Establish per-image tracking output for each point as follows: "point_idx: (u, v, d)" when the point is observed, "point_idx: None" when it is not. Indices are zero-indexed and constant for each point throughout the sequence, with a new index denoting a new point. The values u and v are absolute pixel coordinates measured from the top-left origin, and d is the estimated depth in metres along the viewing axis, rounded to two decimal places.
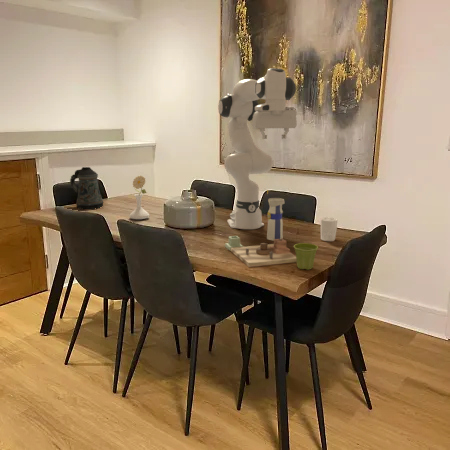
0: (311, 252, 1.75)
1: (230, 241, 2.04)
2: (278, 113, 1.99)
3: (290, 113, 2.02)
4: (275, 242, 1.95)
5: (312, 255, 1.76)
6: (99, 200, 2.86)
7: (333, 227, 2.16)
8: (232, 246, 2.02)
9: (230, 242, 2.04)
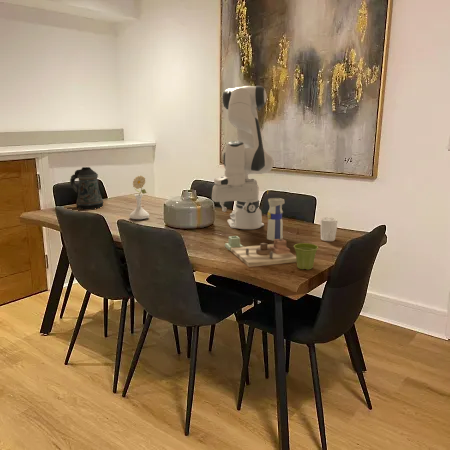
0: (311, 252, 1.75)
1: (230, 241, 2.04)
2: (237, 186, 1.96)
3: (250, 185, 1.99)
4: (275, 242, 1.95)
5: (312, 255, 1.76)
6: (99, 200, 2.86)
7: (333, 227, 2.16)
8: (232, 246, 2.02)
9: (230, 242, 2.04)
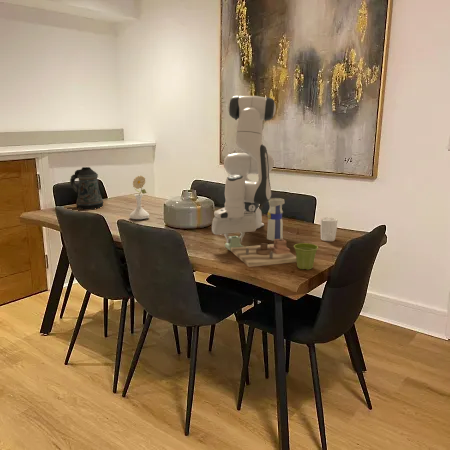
0: (311, 252, 1.75)
1: None
2: (237, 219, 2.00)
3: (249, 218, 2.03)
4: (275, 242, 1.95)
5: (312, 255, 1.76)
6: (99, 200, 2.86)
7: (333, 227, 2.16)
8: (232, 246, 2.02)
9: None
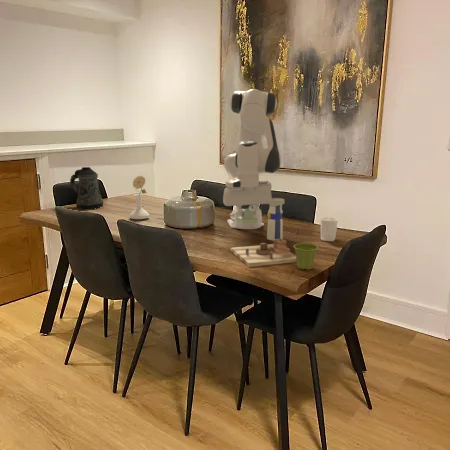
0: (311, 252, 1.75)
1: None
2: (251, 189, 1.83)
3: (264, 188, 1.86)
4: (275, 242, 1.95)
5: (312, 255, 1.76)
6: (99, 200, 2.86)
7: (333, 227, 2.16)
8: (245, 219, 1.85)
9: None
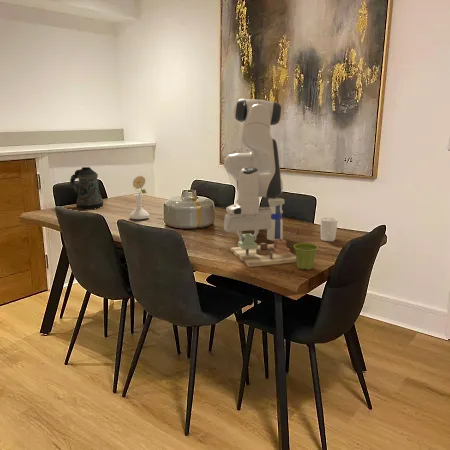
0: (311, 252, 1.75)
1: None
2: (251, 216, 1.85)
3: (264, 214, 1.88)
4: (275, 242, 1.95)
5: (312, 255, 1.76)
6: (99, 200, 2.86)
7: (333, 227, 2.16)
8: (246, 245, 1.87)
9: None
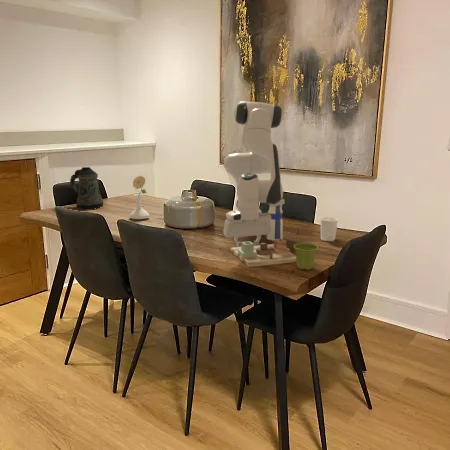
0: (311, 252, 1.75)
1: (243, 247, 1.90)
2: (251, 221, 1.85)
3: (264, 220, 1.89)
4: (275, 242, 1.95)
5: (312, 255, 1.76)
6: (99, 200, 2.86)
7: (333, 227, 2.16)
8: (245, 253, 1.88)
9: (243, 248, 1.90)
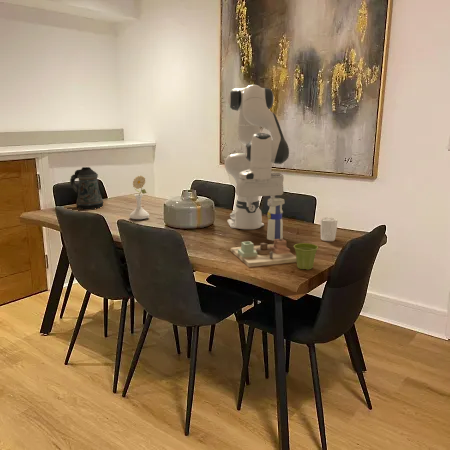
0: (311, 252, 1.75)
1: (243, 247, 1.90)
2: (263, 181, 1.87)
3: (276, 180, 1.90)
4: (275, 242, 1.95)
5: (312, 255, 1.76)
6: (99, 200, 2.86)
7: (333, 227, 2.16)
8: (245, 253, 1.88)
9: (243, 248, 1.90)
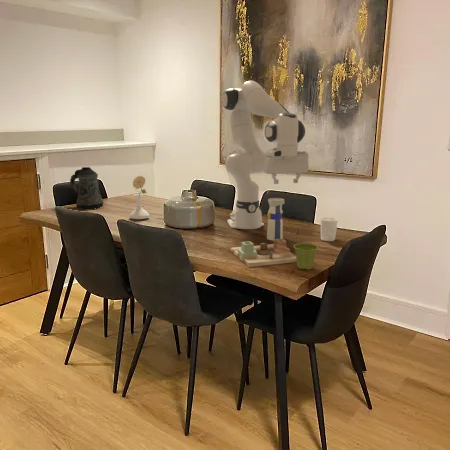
0: (311, 252, 1.75)
1: (243, 247, 1.90)
2: (290, 158, 1.95)
3: (302, 158, 1.99)
4: (275, 242, 1.95)
5: (312, 255, 1.76)
6: (99, 200, 2.86)
7: (333, 227, 2.16)
8: (245, 253, 1.88)
9: (243, 248, 1.90)
